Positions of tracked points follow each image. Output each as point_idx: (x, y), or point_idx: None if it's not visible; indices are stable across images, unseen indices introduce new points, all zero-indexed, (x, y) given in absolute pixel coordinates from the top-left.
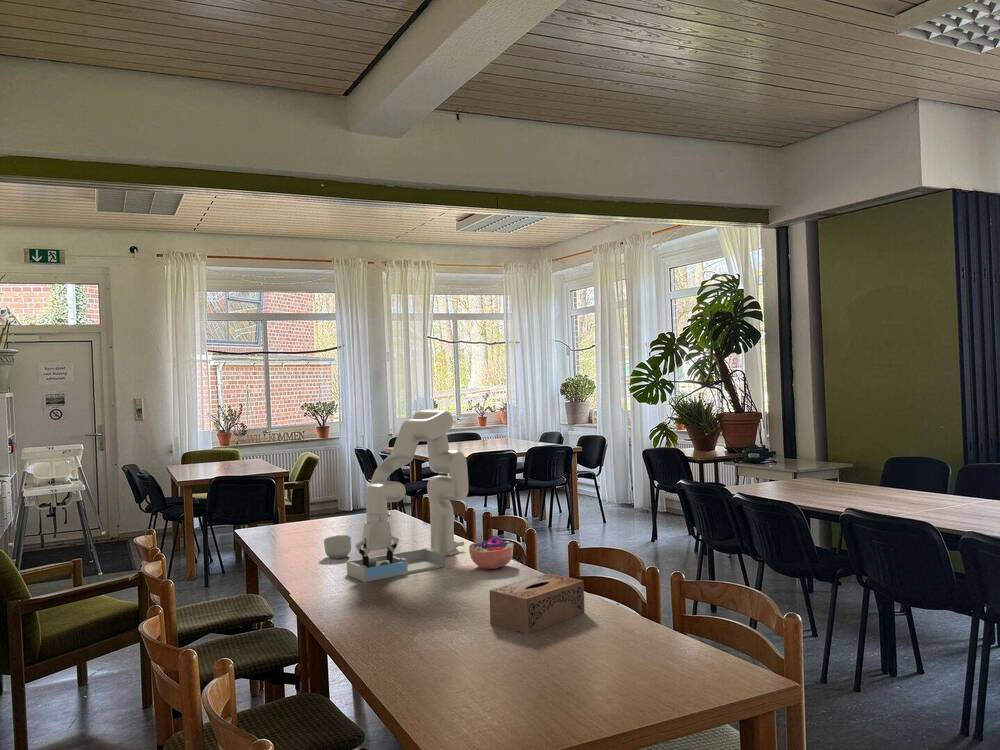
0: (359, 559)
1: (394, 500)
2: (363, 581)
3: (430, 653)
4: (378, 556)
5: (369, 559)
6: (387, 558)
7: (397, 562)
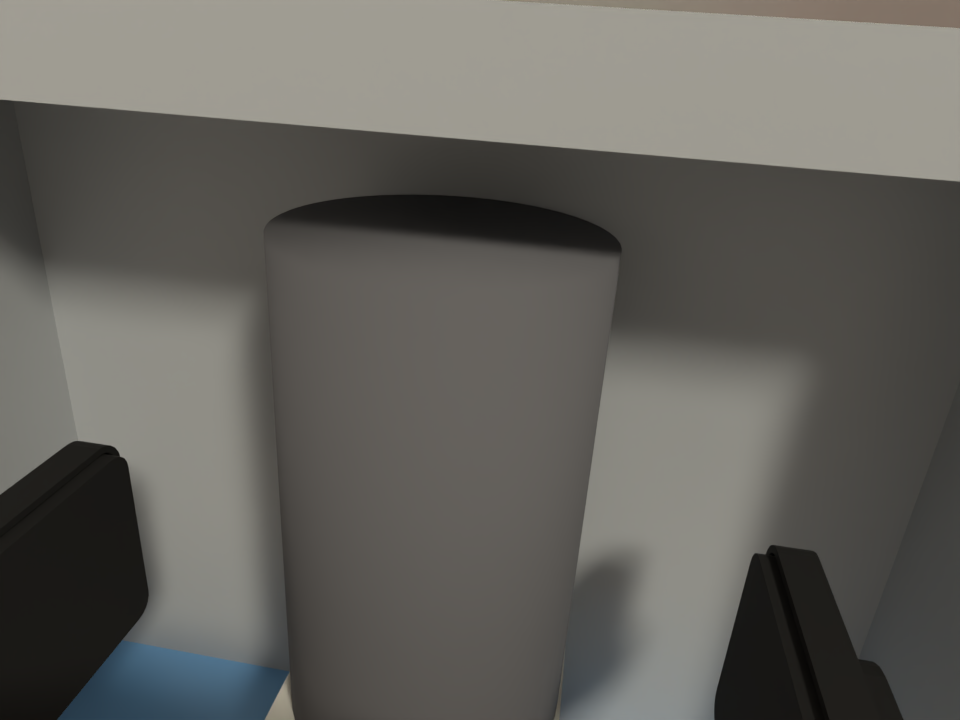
0: (18, 49)
1: None
2: None
3: None
4: (820, 139)
5: (296, 320)
6: (764, 650)
7: (940, 702)
